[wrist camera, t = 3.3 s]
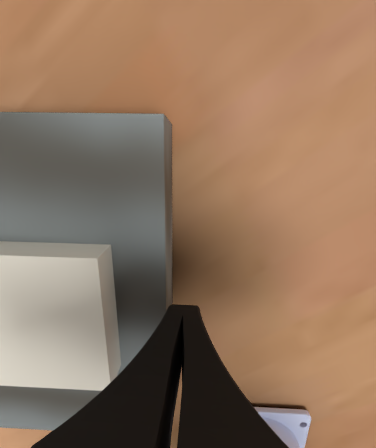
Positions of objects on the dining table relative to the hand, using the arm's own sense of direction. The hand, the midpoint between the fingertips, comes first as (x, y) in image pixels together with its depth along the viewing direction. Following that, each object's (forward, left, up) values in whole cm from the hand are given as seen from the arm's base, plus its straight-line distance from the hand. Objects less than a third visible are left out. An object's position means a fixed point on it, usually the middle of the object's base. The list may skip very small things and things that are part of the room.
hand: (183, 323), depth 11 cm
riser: (0, +7, -4) cm, 8 cm away
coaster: (0, +7, -1) cm, 7 cm away
